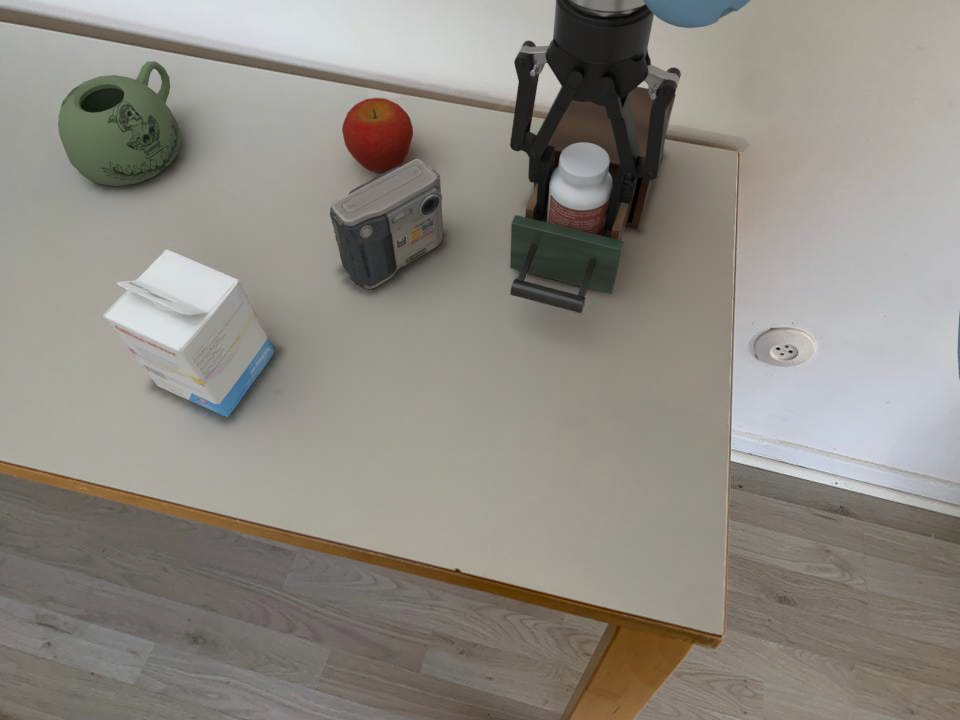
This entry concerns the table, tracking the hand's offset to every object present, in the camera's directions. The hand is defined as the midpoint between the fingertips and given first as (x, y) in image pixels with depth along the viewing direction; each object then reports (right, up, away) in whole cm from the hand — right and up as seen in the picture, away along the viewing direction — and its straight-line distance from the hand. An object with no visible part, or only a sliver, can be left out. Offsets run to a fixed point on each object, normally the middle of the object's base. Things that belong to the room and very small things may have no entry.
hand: (577, 212), depth 74 cm
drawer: (-1, -5, +3) cm, 6 cm away
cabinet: (+4, +6, +11) cm, 13 cm away
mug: (-51, +11, +15) cm, 54 cm away
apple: (-21, +9, +13) cm, 27 cm away
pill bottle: (0, -2, +4) cm, 4 cm away
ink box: (-36, -16, -2) cm, 39 cm away
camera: (-19, -4, +5) cm, 20 cm away
